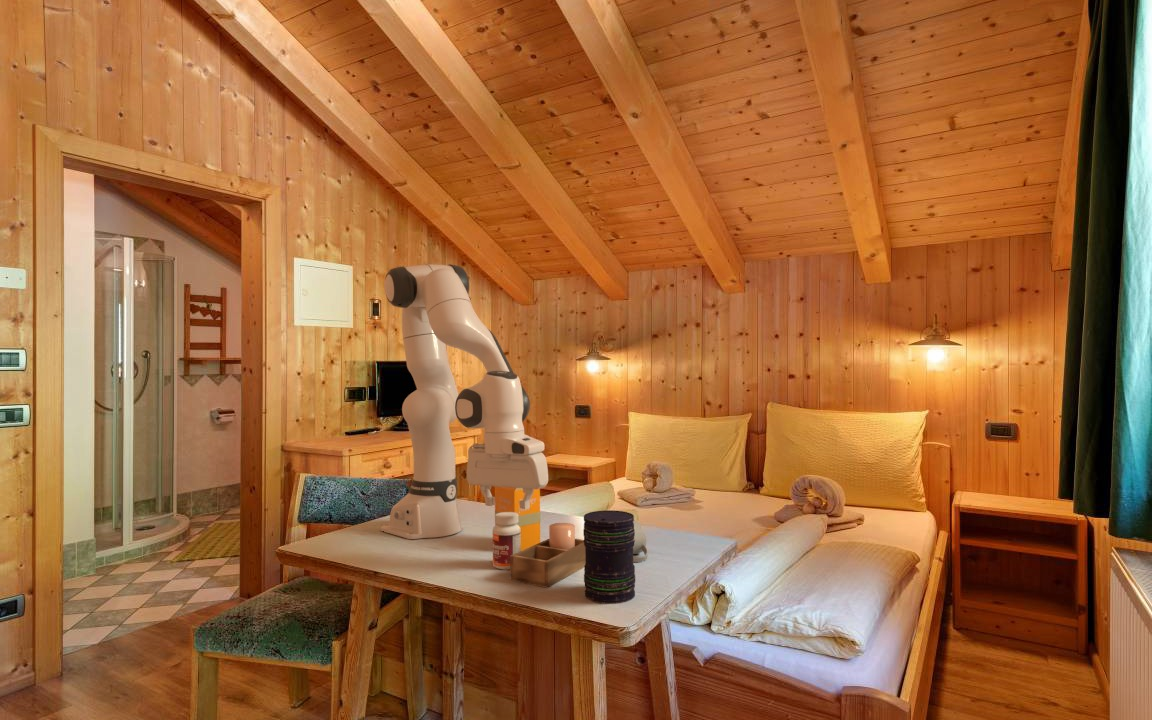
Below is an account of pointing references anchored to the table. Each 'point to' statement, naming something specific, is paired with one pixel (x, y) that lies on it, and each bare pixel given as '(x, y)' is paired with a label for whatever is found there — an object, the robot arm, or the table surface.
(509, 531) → the pill bottle
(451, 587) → the table surface
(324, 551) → the table surface
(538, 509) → the orange juice
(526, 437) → the robot arm
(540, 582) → the caddy
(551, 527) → the orange rounded cylinder
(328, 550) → the table surface
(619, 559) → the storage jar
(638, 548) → the ceramic mug
